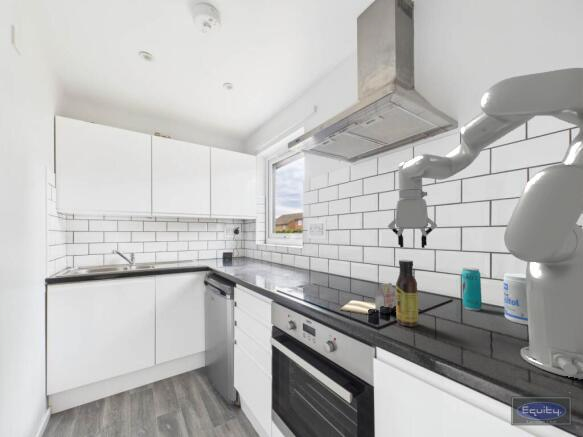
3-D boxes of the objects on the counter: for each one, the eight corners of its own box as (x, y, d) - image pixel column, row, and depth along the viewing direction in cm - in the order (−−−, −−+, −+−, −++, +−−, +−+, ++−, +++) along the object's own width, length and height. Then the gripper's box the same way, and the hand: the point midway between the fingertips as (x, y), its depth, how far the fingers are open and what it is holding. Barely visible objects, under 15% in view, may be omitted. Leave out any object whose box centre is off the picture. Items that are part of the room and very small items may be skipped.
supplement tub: (497, 317, 85) (495, 273, 86) (520, 315, 87) (518, 272, 87) (528, 327, 75) (526, 278, 76) (554, 326, 77) (551, 277, 78)
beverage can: (461, 306, 98) (460, 267, 99) (479, 307, 96) (478, 268, 97) (464, 310, 93) (462, 269, 94) (483, 312, 91) (481, 270, 92)
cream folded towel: (370, 315, 87) (370, 313, 87) (340, 310, 93) (340, 308, 93) (379, 305, 99) (379, 303, 99) (352, 301, 105) (351, 300, 105)
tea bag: (375, 311, 91) (375, 283, 92) (387, 308, 95) (386, 282, 95) (384, 314, 88) (383, 285, 89) (395, 311, 92) (395, 283, 92)
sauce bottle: (397, 319, 83) (395, 258, 84) (418, 322, 80) (416, 259, 81) (395, 326, 77) (394, 260, 78) (418, 329, 74) (416, 261, 75)
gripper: (439, 195, 88) (441, 247, 87) (387, 199, 97) (388, 246, 96) (438, 192, 81) (440, 248, 80) (383, 196, 90) (384, 247, 89)
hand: (412, 247), depth 88 cm, fingers open, 6 cm apart
